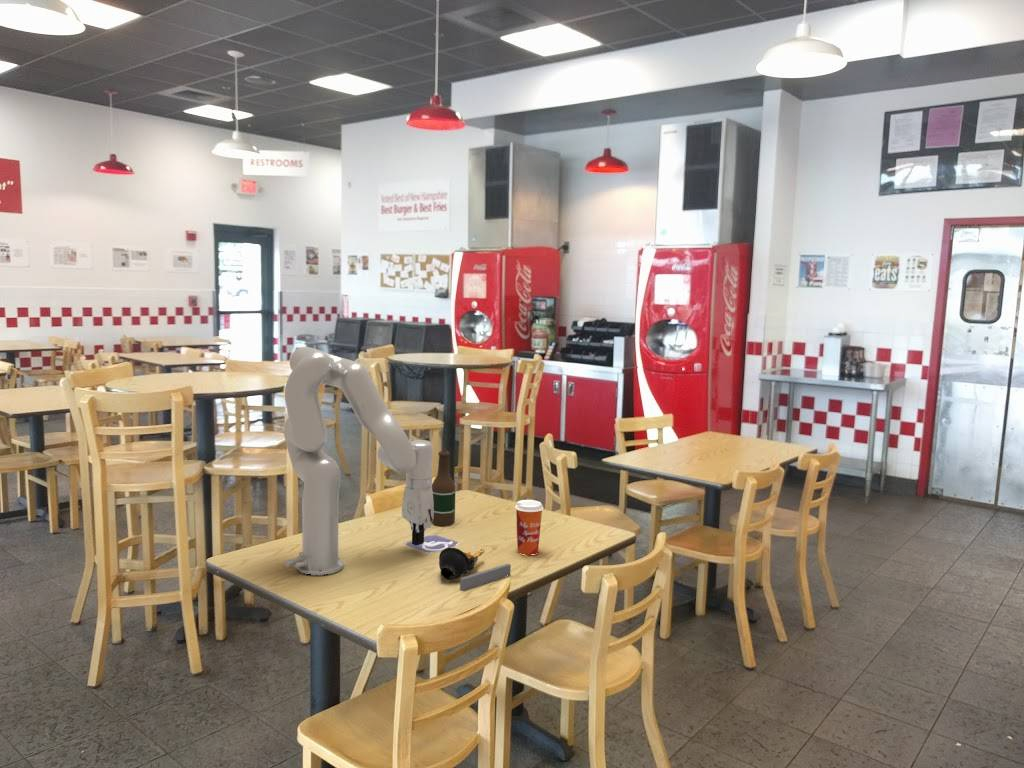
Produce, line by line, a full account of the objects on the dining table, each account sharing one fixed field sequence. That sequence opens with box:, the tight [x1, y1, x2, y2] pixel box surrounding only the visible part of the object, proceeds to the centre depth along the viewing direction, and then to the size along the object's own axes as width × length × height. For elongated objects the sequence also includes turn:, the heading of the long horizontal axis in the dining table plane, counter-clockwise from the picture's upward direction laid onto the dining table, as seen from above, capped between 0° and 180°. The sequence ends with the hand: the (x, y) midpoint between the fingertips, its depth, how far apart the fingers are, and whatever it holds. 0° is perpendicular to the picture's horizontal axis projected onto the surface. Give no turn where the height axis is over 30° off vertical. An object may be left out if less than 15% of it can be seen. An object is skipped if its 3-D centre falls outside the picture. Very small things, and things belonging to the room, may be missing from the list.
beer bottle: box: [431, 450, 456, 528], centre depth 248 cm, size 8×8×24 cm
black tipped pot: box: [438, 547, 485, 581], centre depth 208 cm, size 9×11×18 cm
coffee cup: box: [515, 499, 544, 555], centre depth 224 cm, size 8×8×15 cm
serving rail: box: [459, 563, 512, 591], centre depth 202 cm, size 17×1×3 cm, turn 133°
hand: (417, 543), depth 223 cm, fingers closed
